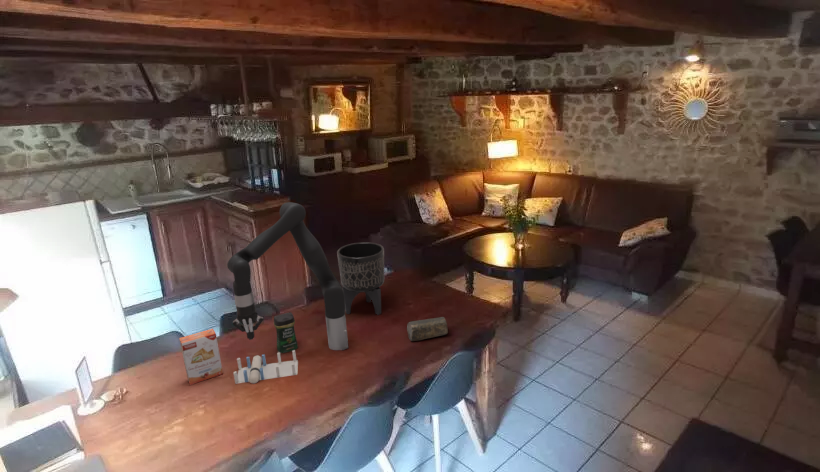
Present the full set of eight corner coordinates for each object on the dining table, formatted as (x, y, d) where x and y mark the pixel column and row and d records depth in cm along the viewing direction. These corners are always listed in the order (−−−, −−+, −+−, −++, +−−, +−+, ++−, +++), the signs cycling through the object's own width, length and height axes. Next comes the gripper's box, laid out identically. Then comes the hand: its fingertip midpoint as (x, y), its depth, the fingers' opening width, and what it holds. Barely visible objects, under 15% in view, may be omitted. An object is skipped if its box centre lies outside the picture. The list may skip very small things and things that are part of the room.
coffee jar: (280, 356, 226) (275, 320, 221) (275, 348, 233) (270, 314, 227) (300, 350, 231) (295, 315, 225) (295, 342, 237) (290, 308, 232)
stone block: (406, 336, 240) (413, 345, 231) (404, 320, 238) (411, 328, 229) (442, 327, 247) (451, 335, 237) (441, 311, 244) (450, 319, 235)
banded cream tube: (253, 363, 220) (252, 355, 218) (262, 362, 221) (261, 354, 219) (249, 384, 205) (248, 375, 204) (259, 383, 206) (258, 374, 204)
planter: (349, 299, 283) (344, 241, 272) (391, 299, 279) (387, 242, 268) (337, 319, 259) (331, 257, 248) (382, 320, 255) (378, 258, 244)
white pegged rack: (298, 361, 222) (296, 349, 220) (297, 377, 209) (295, 365, 207) (239, 369, 217) (237, 358, 215) (235, 386, 205) (233, 374, 203)
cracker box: (190, 386, 207) (181, 343, 200) (187, 379, 212) (178, 337, 205) (223, 374, 214) (216, 332, 207) (220, 368, 219) (212, 327, 212)
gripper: (261, 296, 207) (267, 332, 212) (229, 300, 205) (236, 336, 210) (260, 304, 200) (266, 340, 206) (227, 308, 198) (234, 345, 203)
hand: (251, 338), depth 208 cm, fingers closed
